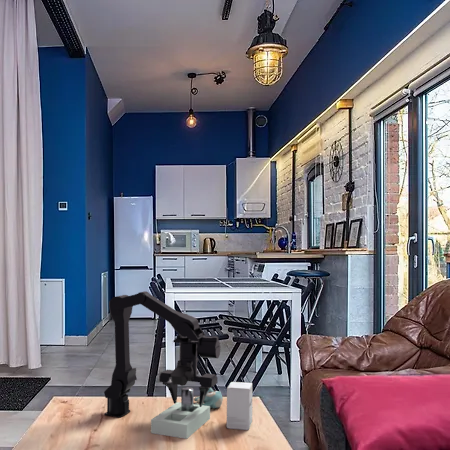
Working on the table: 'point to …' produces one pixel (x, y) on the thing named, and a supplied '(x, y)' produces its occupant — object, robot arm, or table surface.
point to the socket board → (180, 421)
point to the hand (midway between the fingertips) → (187, 404)
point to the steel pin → (187, 399)
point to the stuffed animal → (211, 399)
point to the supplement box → (239, 405)
